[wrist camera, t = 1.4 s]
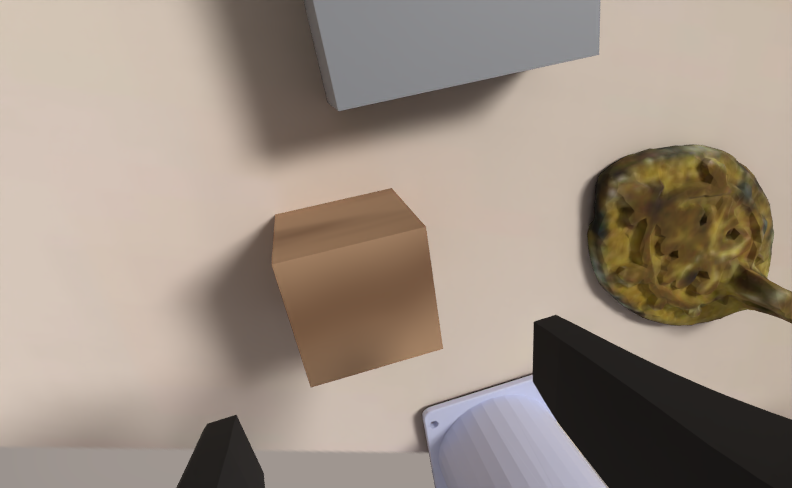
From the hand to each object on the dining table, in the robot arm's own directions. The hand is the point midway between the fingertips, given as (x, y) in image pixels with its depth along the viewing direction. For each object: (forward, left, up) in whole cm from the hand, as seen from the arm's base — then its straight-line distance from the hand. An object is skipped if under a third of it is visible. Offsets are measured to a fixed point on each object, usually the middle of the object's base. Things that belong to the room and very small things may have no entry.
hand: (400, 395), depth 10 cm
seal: (-5, -18, -10) cm, 21 cm away
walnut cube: (-1, 0, -10) cm, 10 cm away
